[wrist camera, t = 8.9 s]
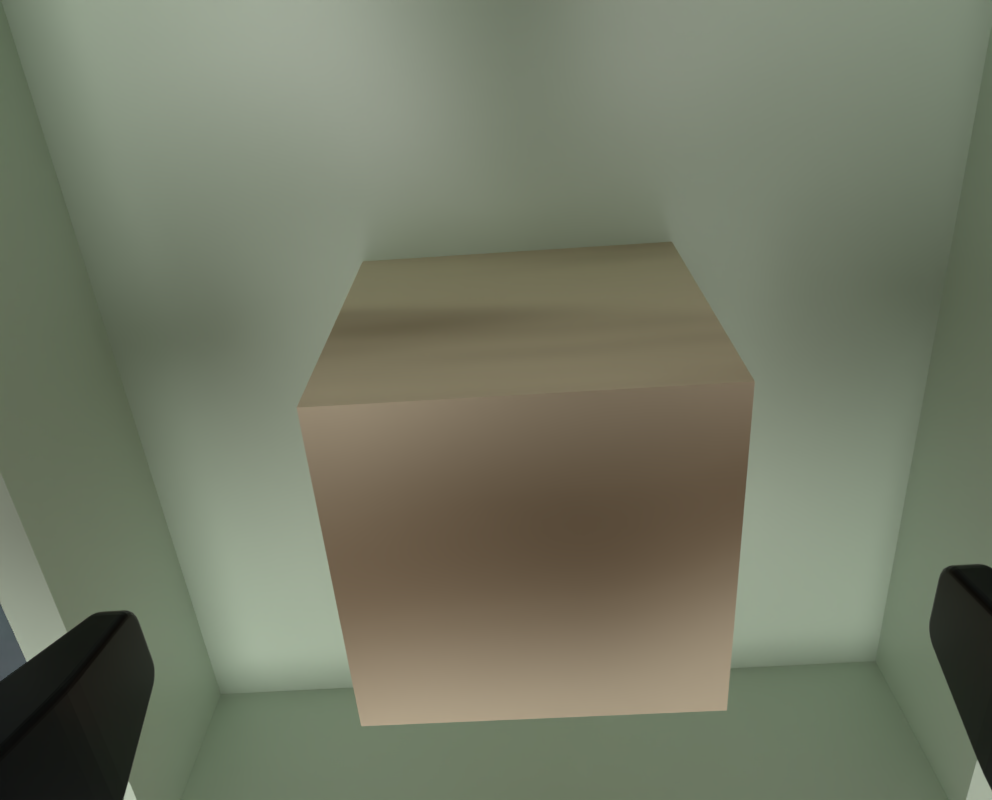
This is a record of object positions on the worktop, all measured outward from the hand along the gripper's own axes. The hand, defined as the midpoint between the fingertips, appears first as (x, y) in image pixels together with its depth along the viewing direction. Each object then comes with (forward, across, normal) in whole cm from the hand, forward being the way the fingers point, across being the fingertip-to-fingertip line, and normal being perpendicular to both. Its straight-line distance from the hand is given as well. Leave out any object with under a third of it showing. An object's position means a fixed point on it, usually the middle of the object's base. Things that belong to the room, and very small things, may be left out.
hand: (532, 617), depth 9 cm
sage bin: (+7, 0, 0) cm, 7 cm away
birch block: (+6, 0, 0) cm, 6 cm away
